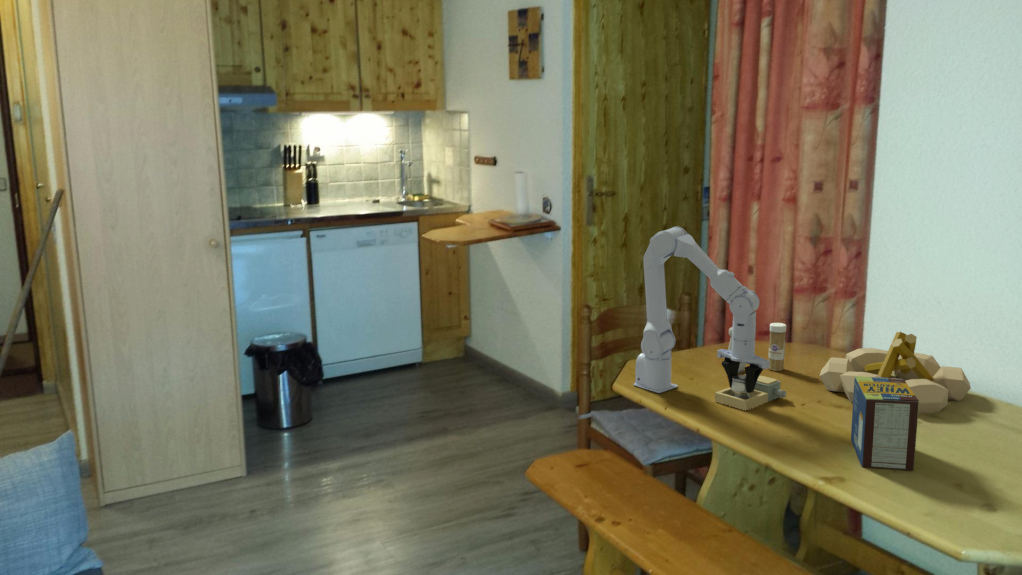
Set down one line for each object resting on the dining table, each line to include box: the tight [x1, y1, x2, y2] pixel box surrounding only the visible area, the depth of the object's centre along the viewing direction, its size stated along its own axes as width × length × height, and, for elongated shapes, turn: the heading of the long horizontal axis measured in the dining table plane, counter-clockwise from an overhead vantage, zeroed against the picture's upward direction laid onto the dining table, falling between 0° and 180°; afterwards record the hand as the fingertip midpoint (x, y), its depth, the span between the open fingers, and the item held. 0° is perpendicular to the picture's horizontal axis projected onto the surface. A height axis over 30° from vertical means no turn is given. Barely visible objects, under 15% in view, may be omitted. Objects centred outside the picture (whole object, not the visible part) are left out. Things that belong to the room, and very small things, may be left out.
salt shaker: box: [727, 326, 747, 374], centre depth 245 cm, size 6×6×13 cm
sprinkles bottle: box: [767, 322, 787, 372], centre depth 246 cm, size 5×5×14 cm
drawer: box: [714, 373, 787, 412], centre depth 221 cm, size 12×15×5 cm
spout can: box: [731, 374, 750, 400], centre depth 220 cm, size 5×5×6 cm
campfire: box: [819, 331, 972, 415], centre depth 224 cm, size 35×34×17 cm
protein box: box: [850, 376, 919, 471], centre depth 185 cm, size 10×15×16 cm
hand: (741, 389), depth 220 cm, fingers closed on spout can, 5 cm apart
